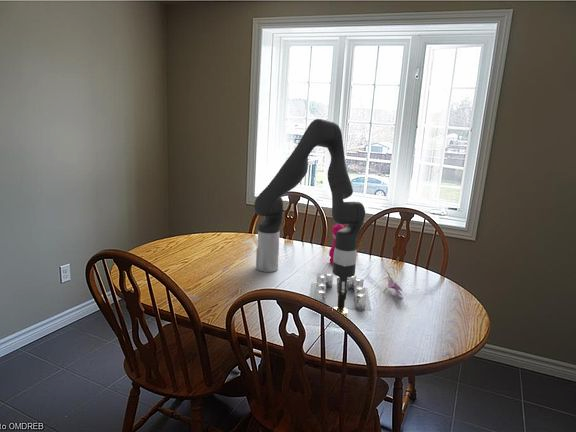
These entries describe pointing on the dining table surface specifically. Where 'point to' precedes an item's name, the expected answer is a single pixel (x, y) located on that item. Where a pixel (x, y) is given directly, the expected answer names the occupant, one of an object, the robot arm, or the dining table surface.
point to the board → (332, 298)
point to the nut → (341, 310)
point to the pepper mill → (334, 230)
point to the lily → (392, 284)
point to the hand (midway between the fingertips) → (340, 307)
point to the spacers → (354, 285)
